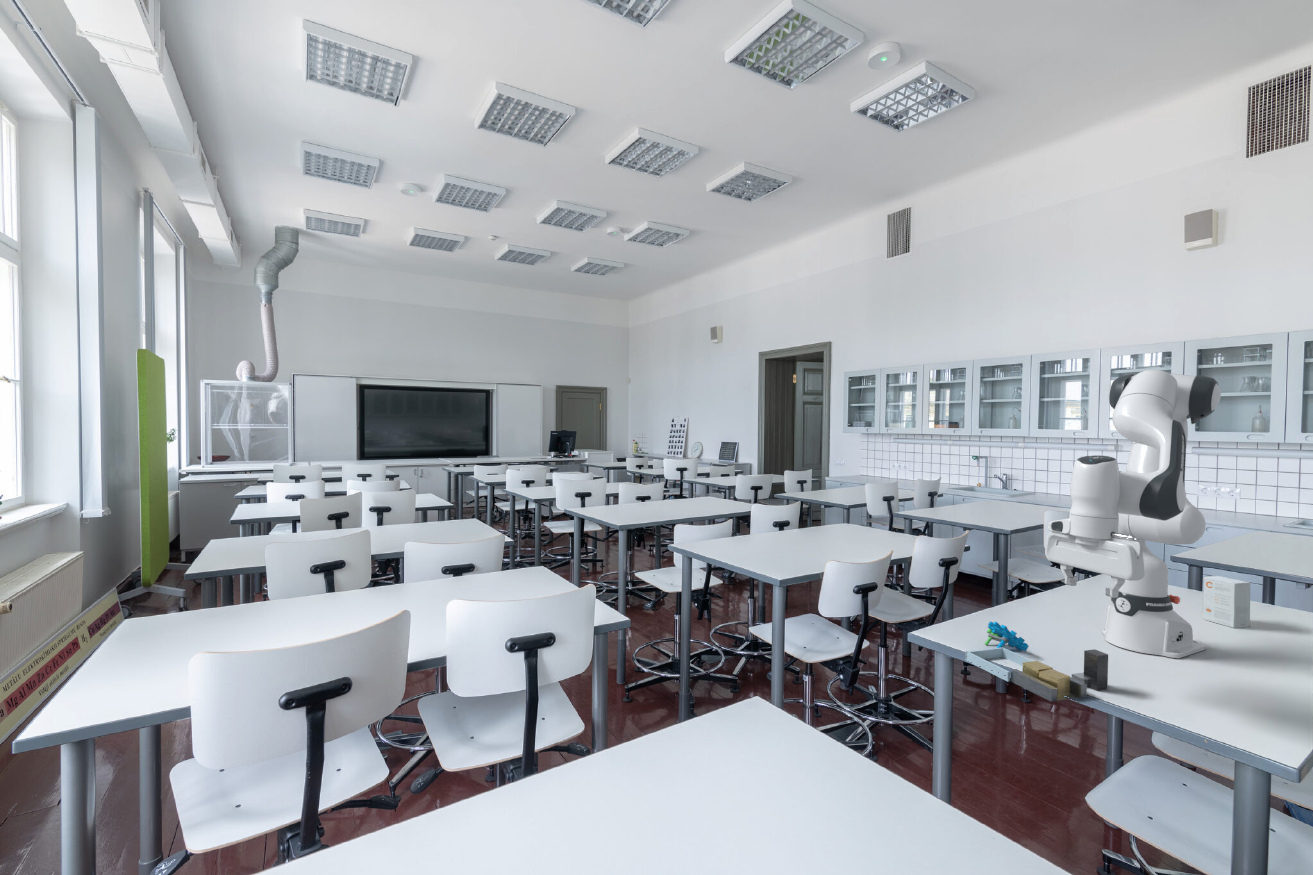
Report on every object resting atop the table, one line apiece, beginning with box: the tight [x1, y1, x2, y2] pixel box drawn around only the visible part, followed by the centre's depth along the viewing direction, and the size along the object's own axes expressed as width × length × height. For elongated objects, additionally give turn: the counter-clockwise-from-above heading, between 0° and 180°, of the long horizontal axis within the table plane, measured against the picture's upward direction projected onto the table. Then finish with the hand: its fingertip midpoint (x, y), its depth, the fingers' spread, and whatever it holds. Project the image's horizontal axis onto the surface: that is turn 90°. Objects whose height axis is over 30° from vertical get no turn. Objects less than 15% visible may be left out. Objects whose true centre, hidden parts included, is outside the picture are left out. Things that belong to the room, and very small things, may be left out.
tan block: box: [1022, 660, 1054, 680], centre depth 130 cm, size 4×4×4 cm
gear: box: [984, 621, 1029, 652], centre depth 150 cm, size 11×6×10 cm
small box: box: [1202, 575, 1251, 629], centre depth 172 cm, size 8×6×13 cm
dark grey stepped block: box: [1071, 649, 1109, 692], centre depth 129 cm, size 5×5×8 cm
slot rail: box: [1010, 668, 1088, 703], centre depth 127 cm, size 10×10×3 cm
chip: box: [1039, 668, 1071, 698], centre depth 126 cm, size 4×4×4 cm
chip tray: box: [964, 646, 1033, 683], centre depth 138 cm, size 11×12×2 cm
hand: (1090, 590), depth 130 cm, fingers open, 8 cm apart
